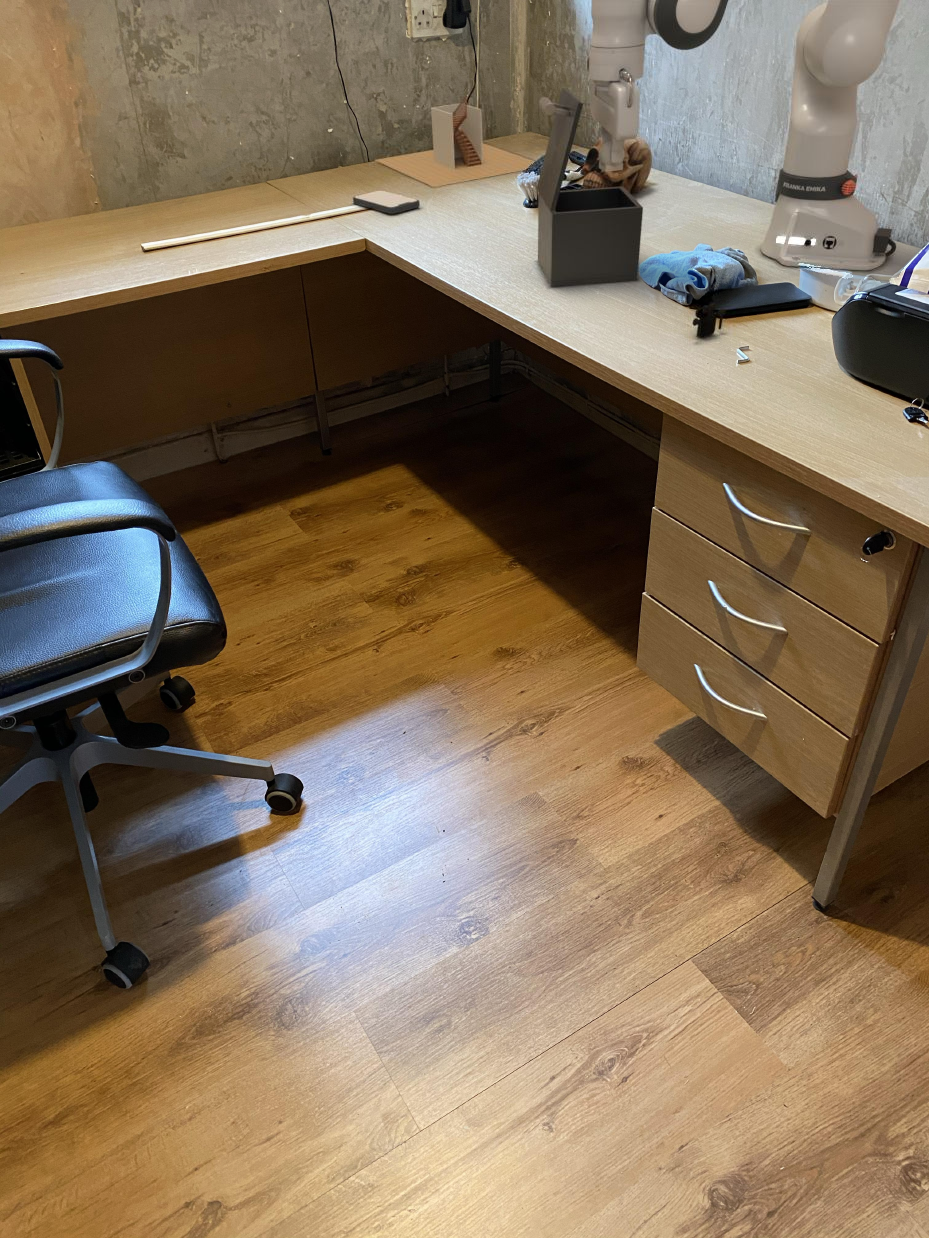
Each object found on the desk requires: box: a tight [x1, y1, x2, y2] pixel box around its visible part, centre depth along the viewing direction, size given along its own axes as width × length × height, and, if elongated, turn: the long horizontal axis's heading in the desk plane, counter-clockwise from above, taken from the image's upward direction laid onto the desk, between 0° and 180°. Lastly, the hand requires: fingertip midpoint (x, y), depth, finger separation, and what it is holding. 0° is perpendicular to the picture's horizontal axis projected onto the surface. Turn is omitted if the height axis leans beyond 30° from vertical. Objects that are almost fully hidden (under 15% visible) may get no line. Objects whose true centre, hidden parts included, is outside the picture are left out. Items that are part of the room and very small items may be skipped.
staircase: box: [430, 92, 485, 170], centre depth 232 cm, size 9×11×17 cm
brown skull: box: [579, 135, 653, 194], centre depth 204 cm, size 16×17×13 cm
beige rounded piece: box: [599, 141, 624, 172], centre depth 156 cm, size 4×4×4 cm
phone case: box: [352, 190, 421, 215], centre depth 208 cm, size 9×2×16 cm
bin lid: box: [536, 87, 584, 212], centre depth 154 cm, size 17×14×5 cm
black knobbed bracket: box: [692, 302, 726, 339], centre depth 141 cm, size 7×2×5 cm, turn 125°
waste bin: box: [537, 186, 644, 288], centre depth 164 cm, size 16×14×12 cm
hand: (611, 158), depth 156 cm, fingers closed on beige rounded piece, 4 cm apart
